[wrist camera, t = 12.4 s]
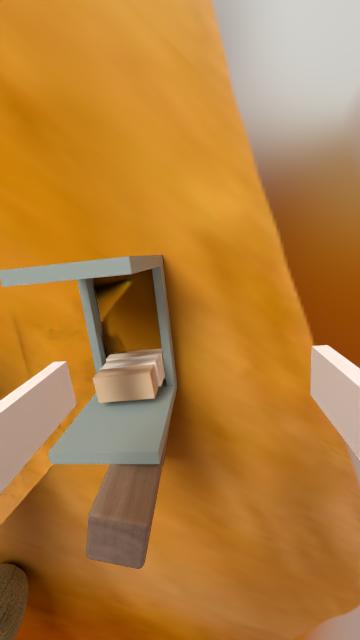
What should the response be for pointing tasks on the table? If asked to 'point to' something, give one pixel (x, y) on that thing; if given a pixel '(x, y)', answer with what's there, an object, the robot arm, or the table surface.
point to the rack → (109, 417)
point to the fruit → (12, 599)
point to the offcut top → (126, 383)
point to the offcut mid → (139, 364)
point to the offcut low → (136, 355)
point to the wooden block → (124, 513)
